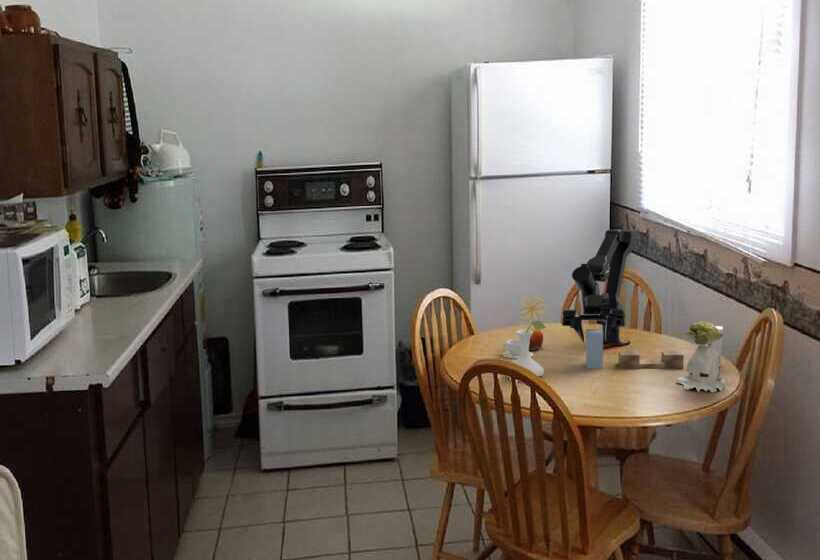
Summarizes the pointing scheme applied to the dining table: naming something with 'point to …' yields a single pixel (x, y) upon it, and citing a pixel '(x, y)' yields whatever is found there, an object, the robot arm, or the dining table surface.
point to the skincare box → (718, 344)
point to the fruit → (535, 339)
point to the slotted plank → (651, 360)
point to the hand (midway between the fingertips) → (594, 341)
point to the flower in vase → (530, 311)
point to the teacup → (513, 348)
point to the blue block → (594, 348)
